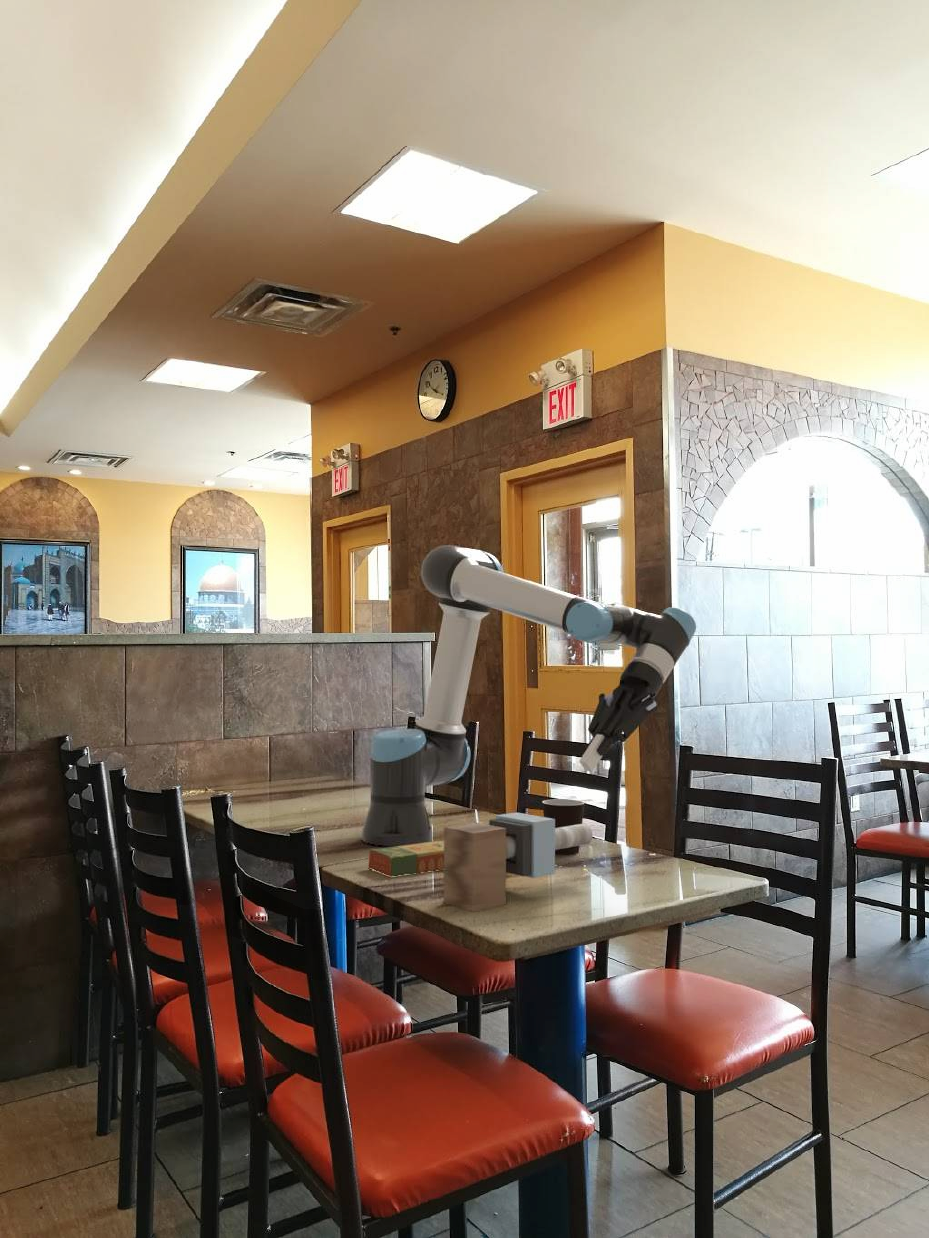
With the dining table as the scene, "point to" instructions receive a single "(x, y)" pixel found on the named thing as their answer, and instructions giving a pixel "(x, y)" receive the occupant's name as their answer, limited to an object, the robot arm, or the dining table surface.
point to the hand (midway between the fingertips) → (585, 766)
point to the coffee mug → (564, 817)
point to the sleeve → (538, 842)
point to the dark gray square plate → (518, 846)
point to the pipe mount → (488, 861)
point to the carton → (408, 858)
